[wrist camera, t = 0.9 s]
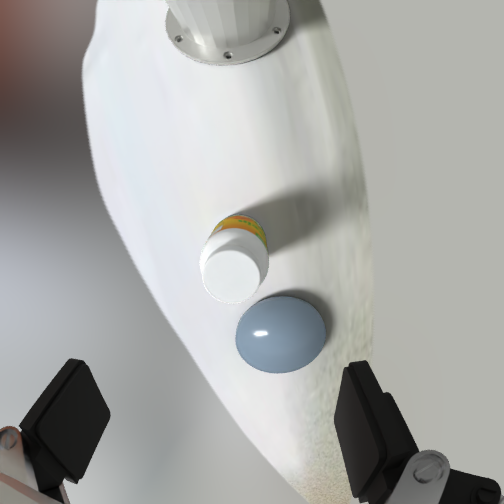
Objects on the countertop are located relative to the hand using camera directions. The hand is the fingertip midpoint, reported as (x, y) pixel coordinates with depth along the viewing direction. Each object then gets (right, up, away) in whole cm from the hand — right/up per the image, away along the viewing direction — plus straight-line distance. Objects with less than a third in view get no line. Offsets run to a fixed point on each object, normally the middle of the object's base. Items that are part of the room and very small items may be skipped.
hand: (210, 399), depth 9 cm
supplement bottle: (0, +6, +20) cm, 21 cm away
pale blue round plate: (+5, -4, +23) cm, 24 cm away
